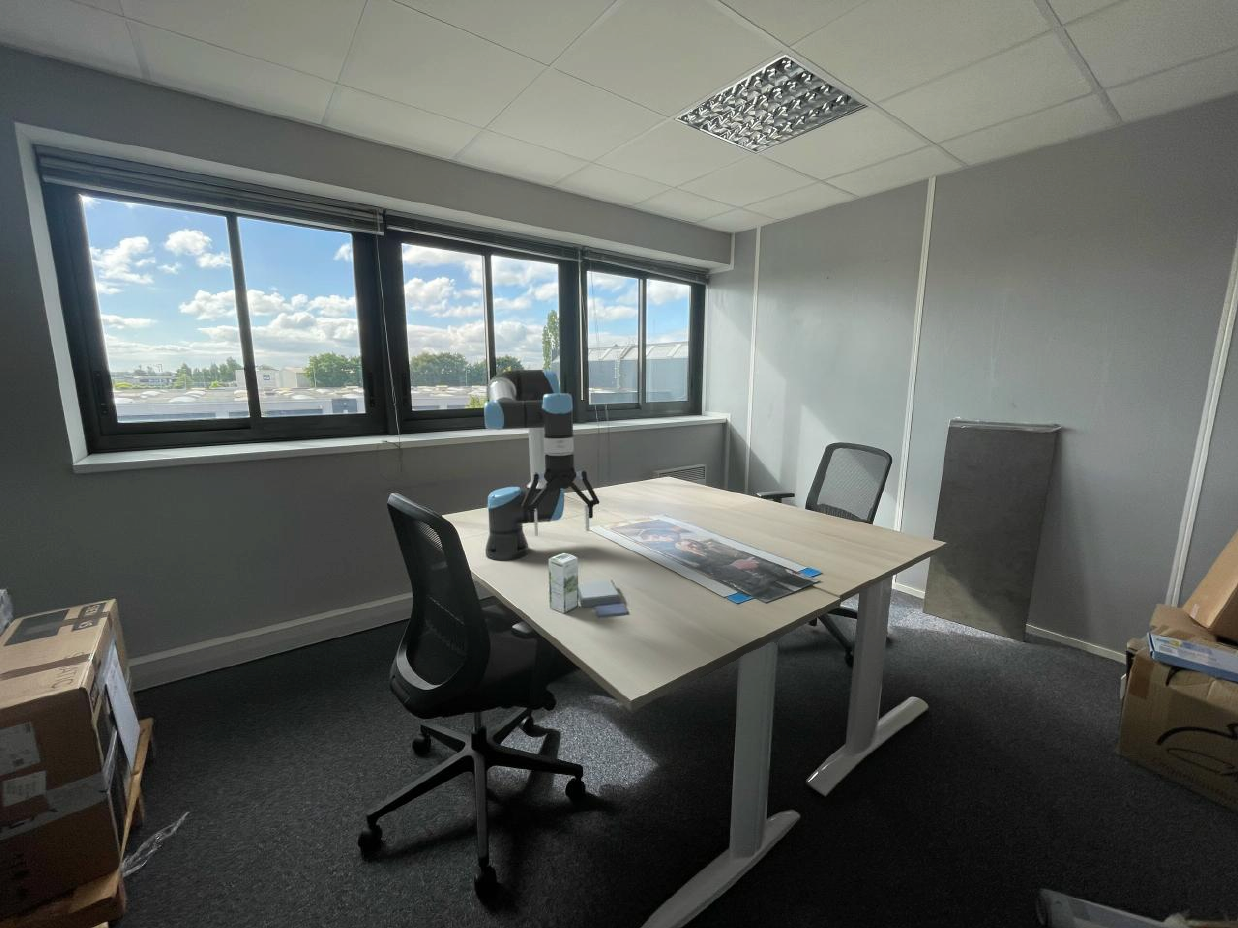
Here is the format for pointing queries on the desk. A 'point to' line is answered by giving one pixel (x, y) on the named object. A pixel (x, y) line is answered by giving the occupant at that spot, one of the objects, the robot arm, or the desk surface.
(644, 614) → the desk surface
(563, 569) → the syrup box
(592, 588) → the podium
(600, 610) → the navy notebook
